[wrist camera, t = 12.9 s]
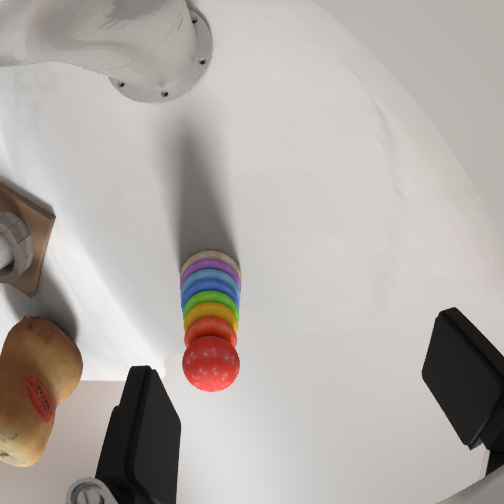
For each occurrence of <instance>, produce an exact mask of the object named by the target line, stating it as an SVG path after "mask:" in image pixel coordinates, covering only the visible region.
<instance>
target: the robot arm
mask: <svg viewBox="0 0 504 504" xmlns="http://www.w3.org/2000/svg"><path fill="white" fill-rule="evenodd" d="M193 21H197V22H196V23H192V22H193ZM212 51H213V44H212V37H211V33H210V31H209V29H208V26H207V25H206V23H205V22H204V21H203V19H202V18H201V17H200V16H198V15H197V14H196V13H195V12H193V11H191V10H189V9H188V8H187V5H186V2H185V0H0V67H13V66H20V65H28V64H35V63H42V62H50V61H57V62H64V63H68V64H72V65H76V66H79V67H82V68H84V69H88V70H91V71H94V72H97V73H100V74H103V75H105V76H108V77H109V79H110V81H111V83H112V85H113V86H114V87H115V88H116V89H117V90H118V91H119V92H120V93H121V94H123V95H124V96H126V97H128V98H130V99H132V100H135V101H139V102H145V103H160V102H164V101H169V100H172V99H174V98H177V97H179V96H181V95H183V94H184V93H186V92H188V91H189V90H190V89H191V88H193V87H194V86H195V85H196V84H197V83H198V82H199V81H200V79H201V78H202V77H203V76H204V74H205V72H206V71H207V69H208V67H209V64H210V61H211V58H212ZM201 61H205V63H204V64H201ZM123 83H124V86H123V87H122V84H123ZM166 92H167V93H168V96H166V97H165V96H164V94H165V93H166ZM422 378H423V380H424V382H425V383H426V385H427V386H428V388H429V389H430V391H431V392H432V394H433V395H434V397H435V399H436V400H437V402H438V403H439V405H440V407H441V408H442V410H443V411H444V413H445V415H446V416H447V418H448V420H449V421H450V423H451V424H452V426H453V427H454V429H455V431H456V433H457V435H458V436H459V438H460V440H461V441H462V443H463V444H464V445H468V447H469V449H470V450H472V449H474V448H476V447H477V446H479V445H481V444H482V443H483V444H484V445H485V447H486V448H485V453H484V459H483V464H482V468H481V472H480V477H479V481H477V482H476V483H474V484H472V485H471V486H469V487H467V488H466V489H464V490H462V491H460V492H458V493H456V494H454V495H453V496H451V497H449V498H447V499H445V500H443V501H441V502H439V503H437V504H504V356H503V355H502V354H501V353H500V352H499V351H498V350H497V349H496V348H495V347H494V346H493V345H492V343H490V341H489V340H488V339H487V338H486V337H485V336H484V335H483V334H482V333H481V332H480V331H479V330H478V329H477V328H476V327H475V326H474V325H473V324H472V323H471V322H470V321H469V320H468V319H467V318H466V317H465V316H464V315H463V314H462V313H461V312H460V311H459V310H458V309H457V308H455V307H453V308H450V309H446V310H443V311H441V312H440V313H439V315H438V317H437V318H436V319H435V323H434V328H433V332H432V336H431V340H430V344H429V348H428V351H427V355H426V359H425V362H424V365H423V369H422ZM180 435H181V422H180V419H179V417H178V415H177V413H176V411H175V409H174V407H173V405H172V403H171V400H170V398H169V396H168V395H167V392H166V390H165V388H164V386H163V384H162V381H161V379H160V377H159V375H158V373H157V371H156V370H155V369H154V370H152V369H151V367H150V366H148V365H146V366H132V367H131V368H130V370H129V373H128V377H127V380H126V383H125V386H124V390H123V393H122V397H121V400H120V404H119V405H118V406H115V407H114V409H113V411H112V414H111V417H110V421H109V424H108V428H107V432H106V436H105V439H104V443H103V447H102V451H101V455H100V458H99V462H98V467H97V471H96V475H95V478H91V477H89V478H82V479H79V480H77V481H76V482H74V483H73V484H72V485H71V486H70V488H69V489H68V492H67V495H66V502H67V504H176V493H177V476H178V462H179V461H178V460H179V448H180Z"/></svg>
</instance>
